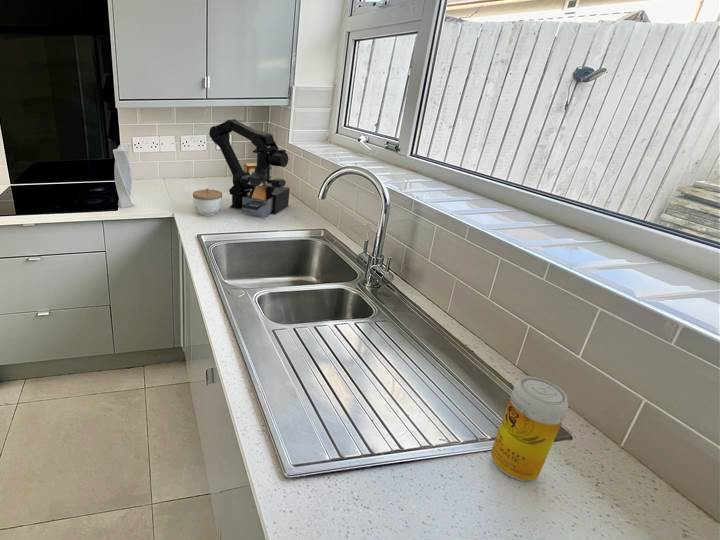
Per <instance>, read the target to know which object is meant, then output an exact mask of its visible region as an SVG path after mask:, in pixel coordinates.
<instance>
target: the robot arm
mask: <svg viewBox="0 0 720 540" xmlns="http://www.w3.org/2000/svg"><path fill="white" fill-rule="evenodd" d="M232 132H233V133H235V134H237V135H240V136H242V137H244V138H246V139H247V140H249V141H250V142H251V144H252V145H253V146H255V147H256V148H255V149H253V150H252V153H254V154H256V163H257V167H255V171H254V173H252V174H251V175H250V173H249V172H246V173H245V172H244V169H243V168H242V166H241V164H240V161H239V160H238V157H237V155H236V153H235V151H234V149H233V146H232V144H231V142H230V139H231V138H230V137H231V135H230V133H232ZM208 135H209V137H210V139H211V141H212V142H213V143H214V144H215V145H217V146H218V147H219V149H220V151H221V153H222V155H223V157H224V160H225V162H226V164H227V167H228V168H229V170H230V172H231V175H232V185H233V186H231V187H230V188H229V189H228V192H229V195H231V205H230V206H229V207H230V208H232V209H233V208H234V209H239V210H242V197H247V194H246V193H250V190H251V189H252V192H254V190H255V187H256V186H259V185H260V184H261V183H265V184H268V185H269V186H268V187H266V188H267V198H266V200H267V199H269V198H270V197H271V195H272V193H273V191H274V189H275V188H276V187H278V188H281V187H286V180H285V178H278V177H276V178H273V179H272V176H271V170H272V167H281V168H285V167H287V165H288V163H289V159H290V157H289V155H288V153H287V149H280V148H279V147H278V145H277V142H276V141H275V140H274V135H273V134H272V133H270V132H267V131H261V130H256V129H254V128H252V127H251V126H248V125H246V124H244V123H242V122H241V121H239V120H238V119H235V118H233V119H231V118H230V119H227V120H226V121H224V122H222V123H219V124H217V125H212V126H211V127H210V128H209V132H208Z"/></svg>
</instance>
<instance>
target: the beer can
mask: <svg viewBox="0 0 720 540" xmlns="http://www.w3.org/2000/svg"><path fill="white" fill-rule="evenodd" d="M510 394H511V395H510V397H509V399H508V402H507V405H506V408H505V411H504V414H503V417H502V419H501V422H500V425H499V428H498V430H497V432H496V436H495V439H494V441H493V443H492V444H493V445H492V447H491V450H490V456H491V458H492V460H493V462H494V464H495V465H496V467H497V468H498V469H499V471H501V472H502V473H503V474H504V475H506V476H508V477H509V478H512V479H514V480H518V481H522V482H527V481H528V482H529V481H534V480H536V479H538V478H539V476H540V473H541V472H542V469H543V466H544V465H545V462H546V461H547V458H548V455H549V453H550V451H551V448H552V446H553V444H554V441H555V440H556V438H557V435H558V432H559V430H560V428H561V425H562V423H563V421H564V419H565V416H566V414H567V412H568V410H569V403H568V395H567V394H566V393H565V391H564V390H563V389H562V388H560V387H559V386H558V385H556V384H555V383H553V382H551V381H550V380H549V381H548V380H546V379H544V378H541V377H540V378H539V377H535V376H524V377H522V378H520V379H519V380H518V381H517V382H516V383H515V384H514V386H513V389H512V392H511V393H510Z"/></svg>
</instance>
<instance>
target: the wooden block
mask: <svg viewBox="0 0 720 540" xmlns="http://www.w3.org/2000/svg"><path fill="white" fill-rule="evenodd" d="M252 198H254V199H260V200H266V198H267V188H266V187H262V186H256V187H255V190H254V192H253V195H252Z"/></svg>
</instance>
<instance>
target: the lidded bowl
mask: <svg viewBox="0 0 720 540" xmlns="http://www.w3.org/2000/svg"><path fill="white" fill-rule="evenodd" d="M222 192H223V191H220V190H217V189H210V188H205V189H198V190H195V191H193V192H192V201H193V206H194V209H195V210H196V211H197V212H198V214H199V215H200V216H203V217H211V216H215V215H216V214H217V213H218V211H219V210H220V209H221V207H222V201H223V193H222Z"/></svg>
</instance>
